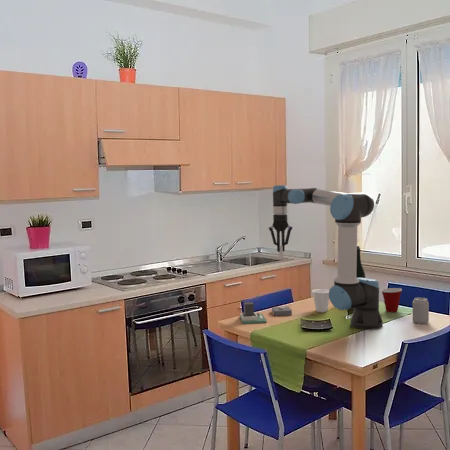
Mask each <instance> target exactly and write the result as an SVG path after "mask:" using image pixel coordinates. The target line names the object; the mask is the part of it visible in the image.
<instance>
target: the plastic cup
mask: <svg viewBox="0 0 450 450" xmlns="http://www.w3.org/2000/svg"><path fill="white" fill-rule="evenodd" d="M380 291H381V293H382V294H381V295H382V297H383V303H384V307H385V312H387V313H397V312H398V310H399V306H400V300H401V295H402V291H403V289H402V288H400V287H399V288H397V287H390V288H389V287H388V288H382V289H380Z"/></svg>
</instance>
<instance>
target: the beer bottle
mask: <svg viewBox="0 0 450 450" xmlns="http://www.w3.org/2000/svg"><path fill="white" fill-rule="evenodd" d="M356 277H357V278H367V277H366V273H365V270H364V267H363V264H362V259H361V247H360V245H357V266H356Z"/></svg>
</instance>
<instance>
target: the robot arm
mask: <svg viewBox="0 0 450 450" xmlns="http://www.w3.org/2000/svg"><path fill="white" fill-rule="evenodd" d="M303 203H304V204H305V203H306V204H307V203H311V204H317V205H324V206H328V207H329V211H330V215H331V216H332V218H333V219H334V223H335V224H336V225H337V227H338V229H337V231H338V232H337V234H338V235H337V276H336V278H334V279H333V286H331V287H330V289H328V290H329V302H330V303H331V304H332V306H333V307H334V308H335V309H337V310H339V311H347V310H350V309H353V312H352V314H351V318H350V326H351V327H352V328H355V329H359V330H378V329H381V328H383V327H384V326H383V325H384V323H383V322H384V321H383V319H382V315H381V311H380V284H379V283H380V282H379V281H378V280H377V279H375V278H374V279H373V278H367V277H366V278H357V277H356V266H357V246H358V226H359V225H360V224H361V223H362V218H366V217H368V216H369V215H371V214H372V212H374V209H375V201H374V199H373V197H372V196H371V195H370V194H369V193H367V192H349V193H348V192H347V193H346V192H338V191H331V190H327V189H326V190H325V189H320V188H319V187H311V188H289V189H288V187H287V185H286V184H281V185H279V184H277V185H276V184H275V185H273V186H272V207H273V209H272V210H273V211H272V213H273V216H272V219H273V223H272V224H271V225H270V226H269V227H268V230H269V231H270V235H271V239H272V242H273V245H275V246H276V251H277V252H278V258H279V259H283V257H284V255H283V254H284V252H285V249H286V247H285V246H286V245H288V244H289V239H290V237H291V232H292V230H293V227H292V225H289V223H288V204H294V205H297V204H299V205H300V204H303ZM286 229H287V231H286ZM274 230H275V232H276V235H275V232H274ZM285 231H286V236H285ZM275 236H276V237H275ZM280 237H281V238H280ZM280 239H281V240H280Z"/></svg>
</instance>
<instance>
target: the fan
mask: <svg viewBox="0 0 450 450" xmlns="http://www.w3.org/2000/svg"><path fill="white" fill-rule="evenodd" d="M271 311H272V314H273V315H274V316H275V317H278V316H280V317H281V316H282V315H283V316H293V310H292V309H291V308H290V306H287V305H285V306H273V307H271Z"/></svg>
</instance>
